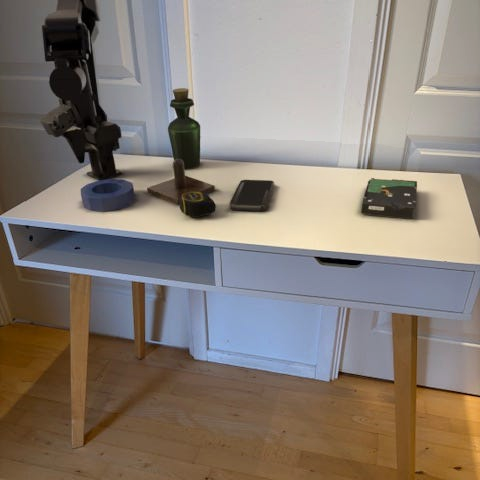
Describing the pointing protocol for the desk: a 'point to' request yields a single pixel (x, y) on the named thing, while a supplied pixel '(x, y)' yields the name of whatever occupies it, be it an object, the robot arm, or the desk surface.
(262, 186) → the phone
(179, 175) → the post
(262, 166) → the desk surface
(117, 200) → the ring
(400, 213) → the disk drive
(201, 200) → the tape measure
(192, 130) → the potion bottle
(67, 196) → the desk surface
